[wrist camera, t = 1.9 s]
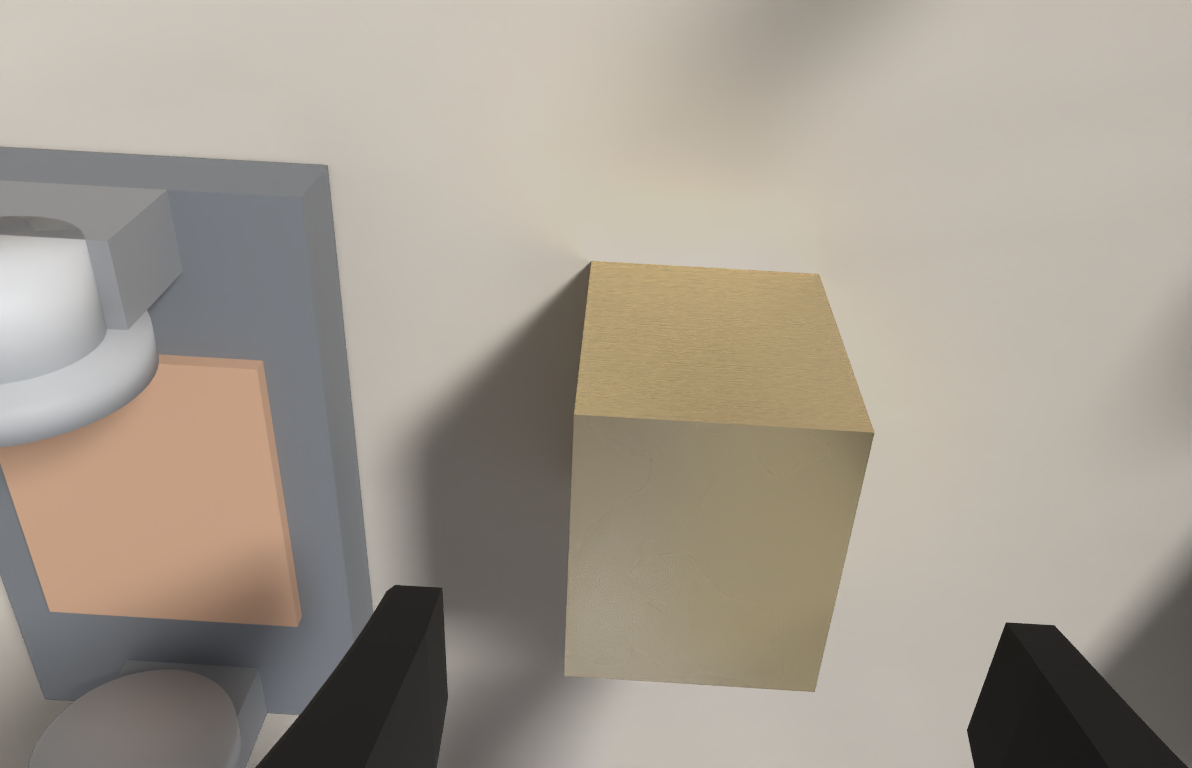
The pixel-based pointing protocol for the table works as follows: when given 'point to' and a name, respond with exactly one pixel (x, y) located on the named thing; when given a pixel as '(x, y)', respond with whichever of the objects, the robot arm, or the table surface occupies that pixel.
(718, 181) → the table surface
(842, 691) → the table surface
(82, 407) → the stand
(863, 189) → the table surface
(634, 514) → the coupling block
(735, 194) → the table surface
